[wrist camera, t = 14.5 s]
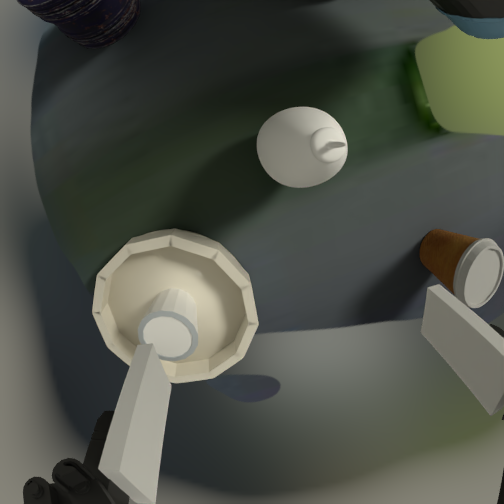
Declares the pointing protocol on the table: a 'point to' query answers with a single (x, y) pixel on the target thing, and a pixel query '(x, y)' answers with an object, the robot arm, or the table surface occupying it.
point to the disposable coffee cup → (464, 265)
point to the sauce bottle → (301, 147)
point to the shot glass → (171, 325)
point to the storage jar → (88, 18)
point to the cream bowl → (189, 280)
